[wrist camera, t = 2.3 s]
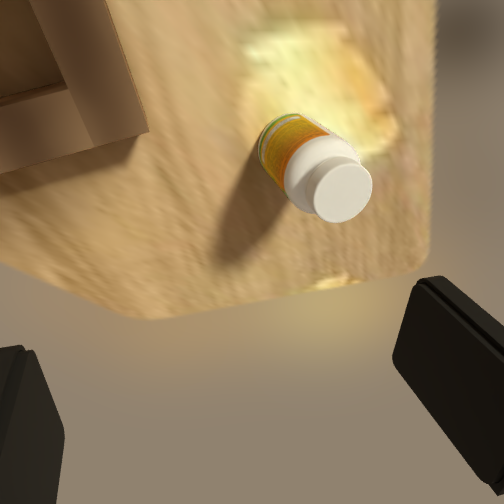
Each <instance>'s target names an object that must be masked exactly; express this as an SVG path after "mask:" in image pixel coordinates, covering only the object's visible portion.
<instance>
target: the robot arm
mask: <svg viewBox="0 0 504 504" xmlns="http://www.w3.org/2000/svg"><path fill="white" fill-rule="evenodd" d="M392 360H393V364H394V366H395V368H396V369H397V370H398V372H399V373H400V374H401V376H402V377H403V378H404V380H405V381H406V382H407V384H408V385H409V386H410V388H411V389H412V390H413V392H414V393H415V394H416V395H417V397H418V398H419V400H420V401H421V402H422V404H423V405H424V406H425V408H426V409H427V410H428V412H429V413H430V414H431V416H432V417H433V418H434V419H435V421H436V422H437V423H438V425H439V426H440V427H441V429H442V430H443V431H444V433H445V434H446V435H447V437H448V438H449V439H450V441H451V442H452V443H453V445H454V446H455V447H456V449H457V450H458V451H459V453H460V454H461V455H462V457H463V458H464V459H465V461H466V462H467V463H468V465H469V466H470V467H471V468H472V470H473V471H474V472H475V474H476V475H477V476H478V477H479V479H480V480H481V481H483V482H484V483H486V484H489V486H490V487H491V488H492V490H493V491H494V492H495V493H496V495H497V496H499V495H502V494H504V326H503V325H501V324H500V323H499V322H498V321H497V320H496V319H494V318H493V317H492V316H491V315H490V314H488V313H487V312H486V311H485V310H484V309H482V308H481V307H480V306H479V305H478V304H477V303H475V302H474V301H473V300H472V299H471V298H469V297H468V296H467V295H466V294H465V293H463V292H462V291H461V290H460V289H458V288H457V287H456V286H455V285H454V284H453V283H451V282H450V281H449V280H448V279H447V278H445V277H443V276H434V277H428V278H422V279H419V280H418V281H417V283H416V285H415V286H413V288H412V291H411V294H410V297H409V301H408V304H407V307H406V311H405V314H404V317H403V321H402V324H401V328H400V331H399V334H398V338H397V341H396V345H395V348H394V351H393V355H392ZM64 439H65V436H64V427H63V424H62V421H61V419H60V416H59V414H58V411H57V408H56V406H55V403H54V401H53V398H52V395H51V393H50V390H49V388H48V385H47V382H46V380H45V377H44V375H43V372H42V369H41V367H40V364H39V362H38V359H37V357H36V354H35V352H34V351H33V350H28V351H26V350H25V348H24V347H23V346H22V345H16V346H10V347H3V348H0V504H56V500H57V492H58V485H59V478H60V471H61V463H62V455H63V449H64Z"/></svg>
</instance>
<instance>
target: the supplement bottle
mask: <svg viewBox="0 0 504 504" xmlns="http://www.w3.org/2000/svg"><path fill="white" fill-rule="evenodd" d="M258 156H259V160H260V163H261V165H262V167H263V168H264V169H265V171H266V172H267V173H268V174H269V175H270V177H271V178H272V179H273V180H274V181H275V183H276V184H277V185H278V186H279V187H280V188H281V190H282V191H283V192H284V193H285V195H286V196H287V197H288V198H289V200H290V201H291V202H292V203H293V204H294V205H295V206H296V207H297V208H299V209H300V210H302V211H304V212H307V213H311V214H316V215H317V216H318V217H319V218H321V219H322V220H324V221H326V222H330V223H340V222H344V221H347V220H349V219H351V218H353V217H355V216H356V215H357V214H358V213H360V212H361V211H362V210H363V208H364V207H365V206H366V204H367V203H368V201H369V199H370V196H371V192H372V179H371V176H370V174H369V172H368V171H367V170H366V169H365V168H364V167H363V166H361V163H360V159H359V156H358V154H357V152H356V150H355V149H354V148H353V147H352V146H351V145H350V144H349V143H348V142H347V141H345V140H344V139H343V138H341V137H339V136H338V135H336V134H335V133H333V132H332V131H330V130H329V129H327V128H326V127H324V126H322V125H321V124H319V123H318V122H316V121H315V120H313V119H312V118H310V117H308V116H306V115H304V114H300V113H287V114H283V115H281V116H279V117H277V118H275V119H274V120H272V121H271V122H270V123H269V124H268V125H267V126H266V128H265V129H264V131H263V133H262V134H261V137H260V140H259V144H258Z"/></svg>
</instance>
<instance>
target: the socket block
mask: <svg viewBox="0 0 504 504" xmlns="http://www.w3.org/2000/svg"><path fill="white" fill-rule="evenodd" d="M29 2H30V4H31V7H32V9H33V11H34V13H35V16H36V18H37V20H38V22H39V25H40V27H41V29H42V31H43V33H44V36H45V38H46V40H47V42H48V45H49V47H50V49H51V51H52V54H53V56H54V58H55V60H56V62H57V65H58V67H59V69H60V71H61V74H62V76H63V78H64V80H65V81H63V82H59V83H55V84H52V85H48V86H44V87H40V88H36V89H32V90H28V91H25V92H21V93H17V94H13V95H9V96H5V97H1V98H0V174H2V173H5V172H9V171H13V170H16V169H20V168H23V167H27V166H30V165H34V164H37V163H41V162H45V161H48V160H52V159H55V158H59V157H62V156H66V155H69V154H73V153H77V152H80V151H84V150H87V149H91V148H94V147H98V146H101V145H105V144H109V143H112V142H116V141H119V140H123V139H126V138H130V137H133V136H137V135H141V134H144V133H148V132H149V127H148V123H147V118H146V115H145V112H144V109H143V106H142V104H141V101H140V98H139V95H138V92H137V89H136V86H135V84H134V81H133V78H132V75H131V72H130V69H129V66H128V64H127V61H126V58H125V55H124V52H123V49H122V46H121V44H120V41H119V38H118V35H117V32H116V29H115V26H114V24H113V21H112V18H111V15H110V12H109V9H108V6H107V3H106V1H105V0H29Z"/></svg>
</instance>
